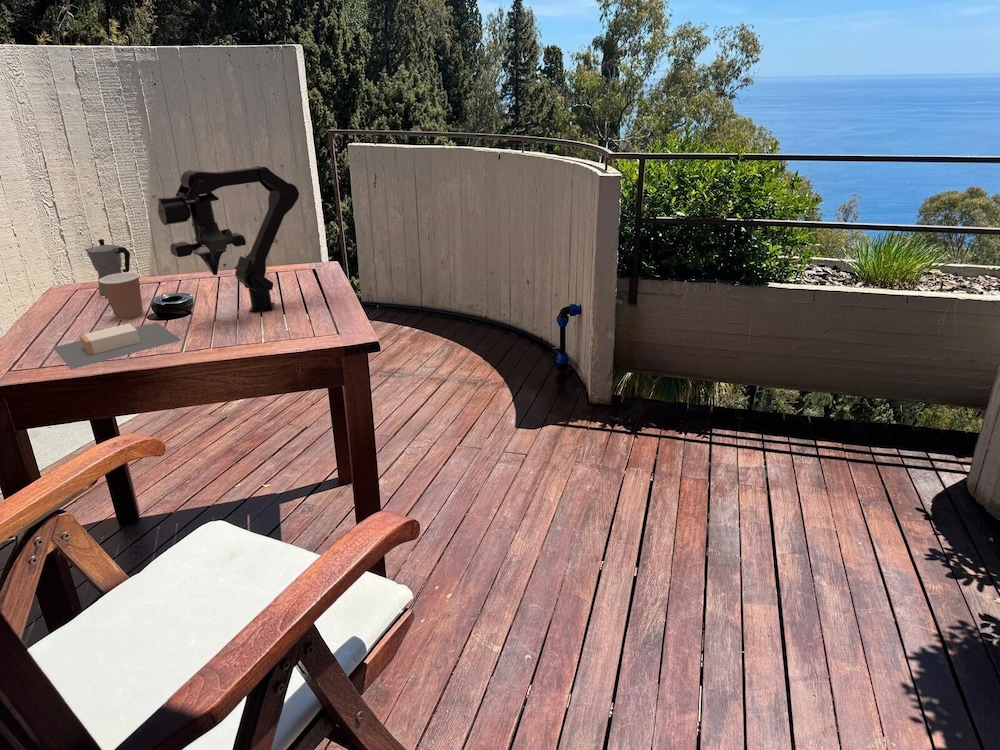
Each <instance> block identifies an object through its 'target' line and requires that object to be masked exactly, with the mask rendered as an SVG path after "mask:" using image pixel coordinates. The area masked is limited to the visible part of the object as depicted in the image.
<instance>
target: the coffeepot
mask: <svg viewBox="0 0 1000 750" xmlns="http://www.w3.org/2000/svg"><path fill="white" fill-rule="evenodd" d="M97 241H98V243H99V245H96V246H93V247H88V248H86V249H84V251H85V252H86V253H87V255H88V257H89V260H90V261H91V263H92V266H93V269H94V270H95V272H97V275H98V276H97V277H98V278H97V279H98V290H99V296H100V295H101V296H105V297H107V296H106V294H105V291H104V289H103V287H102V284H101V283H100V282H99V280H100V279H101V278H103V277H105V276H108V275H112V274H118V273H130V266H131V265H130V260H131V253H130V251H129V250H128V249H127V248H126V247H125V246H120V245H115V244H105V239H101V238H100V239H98V240H97ZM122 254H123V255H124V268H125V269H124V268H123V269H122V266H123V265H122ZM101 296H100V297H101Z"/></svg>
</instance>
